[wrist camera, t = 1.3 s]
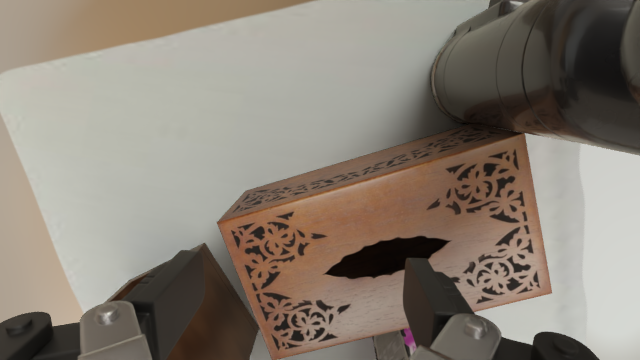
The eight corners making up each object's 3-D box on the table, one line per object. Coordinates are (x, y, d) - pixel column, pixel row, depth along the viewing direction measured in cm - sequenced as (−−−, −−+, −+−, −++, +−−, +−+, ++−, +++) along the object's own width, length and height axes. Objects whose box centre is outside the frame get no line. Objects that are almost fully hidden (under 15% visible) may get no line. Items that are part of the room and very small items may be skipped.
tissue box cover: (286, 299, 42) (272, 360, 32) (245, 190, 39) (216, 222, 29) (497, 244, 39) (552, 293, 29) (472, 123, 36) (524, 133, 26)
